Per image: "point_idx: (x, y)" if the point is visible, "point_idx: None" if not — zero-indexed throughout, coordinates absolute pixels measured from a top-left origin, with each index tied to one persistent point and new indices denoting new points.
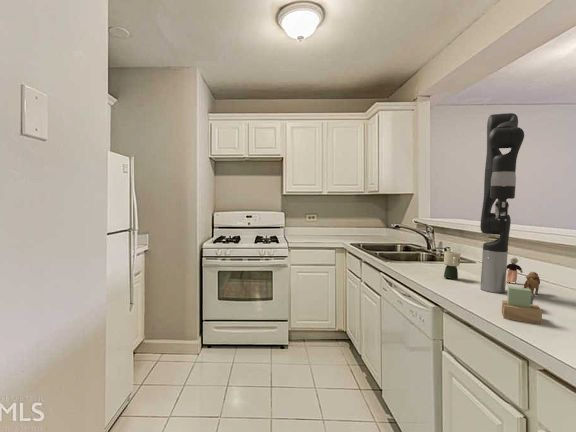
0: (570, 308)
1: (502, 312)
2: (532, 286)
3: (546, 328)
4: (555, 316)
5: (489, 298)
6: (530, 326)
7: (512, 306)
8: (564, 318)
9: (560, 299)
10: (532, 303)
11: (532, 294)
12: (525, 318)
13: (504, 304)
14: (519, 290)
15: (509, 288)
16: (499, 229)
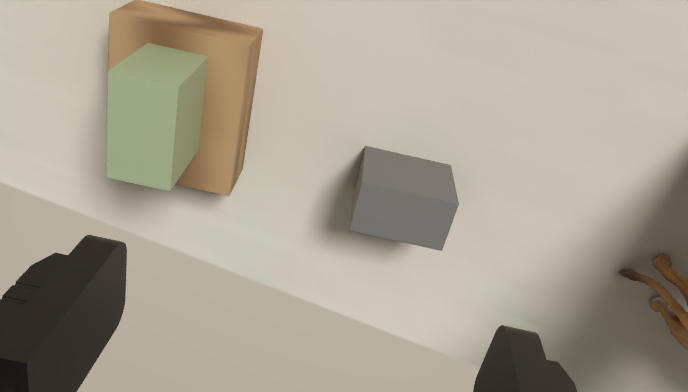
0: (464, 358)
1: (210, 19)
2: (671, 328)
3: (80, 142)
4: (296, 249)
5: (553, 49)
6: (69, 85)
7: (125, 56)
8: (280, 270)
9: (625, 389)
10: (352, 207)
11: (373, 235)
12: None
13: (147, 24)
14: (110, 121)
15: (108, 72)
16: (47, 262)
